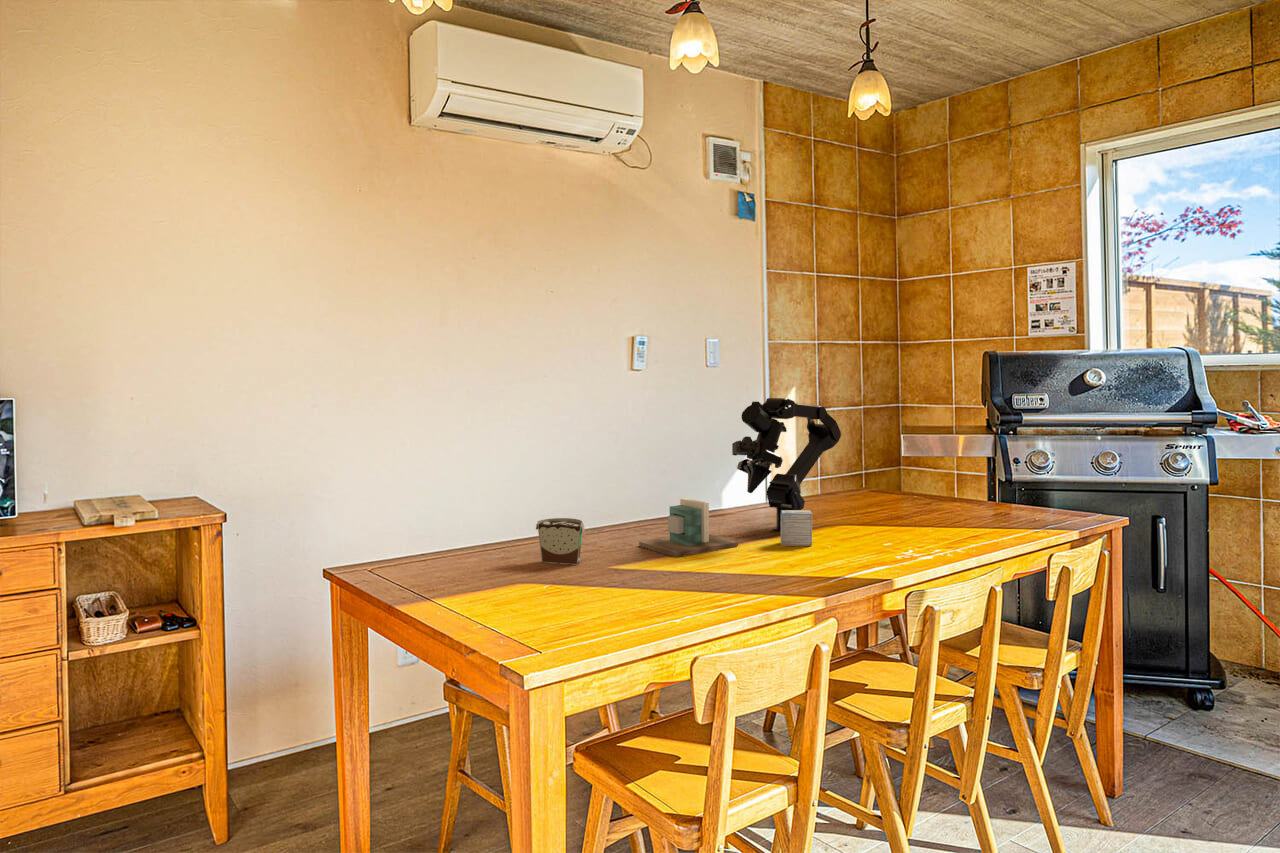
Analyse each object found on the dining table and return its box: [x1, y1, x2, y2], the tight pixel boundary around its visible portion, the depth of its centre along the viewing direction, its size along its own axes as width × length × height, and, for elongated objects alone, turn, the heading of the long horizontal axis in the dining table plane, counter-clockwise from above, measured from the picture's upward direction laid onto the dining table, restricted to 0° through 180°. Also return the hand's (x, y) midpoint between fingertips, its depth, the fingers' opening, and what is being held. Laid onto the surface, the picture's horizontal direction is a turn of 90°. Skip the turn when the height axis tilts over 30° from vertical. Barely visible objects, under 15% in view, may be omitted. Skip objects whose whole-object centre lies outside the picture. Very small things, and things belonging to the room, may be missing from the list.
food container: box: [535, 517, 586, 566], centre depth 206 cm, size 12×6×10 cm, turn 71°
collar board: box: [638, 504, 739, 558], centre depth 220 cm, size 20×16×10 cm
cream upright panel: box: [667, 497, 710, 542], centre depth 220 cm, size 8×10×10 cm
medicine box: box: [780, 509, 813, 547], centre depth 221 cm, size 8×4×9 cm, turn 84°
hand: (749, 492), depth 228 cm, fingers closed
